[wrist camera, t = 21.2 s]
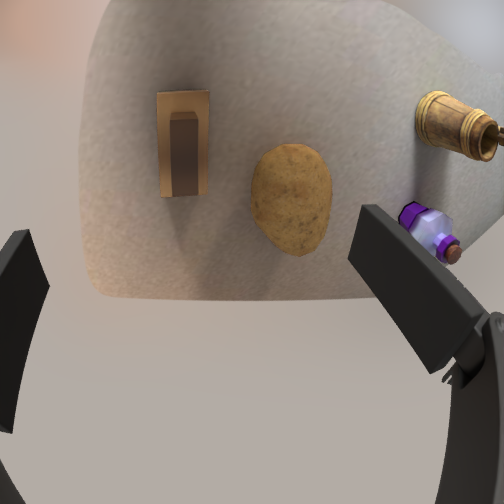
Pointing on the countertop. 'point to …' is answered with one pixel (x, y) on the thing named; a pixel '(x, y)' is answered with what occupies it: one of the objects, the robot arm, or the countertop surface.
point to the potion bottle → (431, 231)
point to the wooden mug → (457, 127)
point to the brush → (183, 142)
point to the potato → (292, 198)
